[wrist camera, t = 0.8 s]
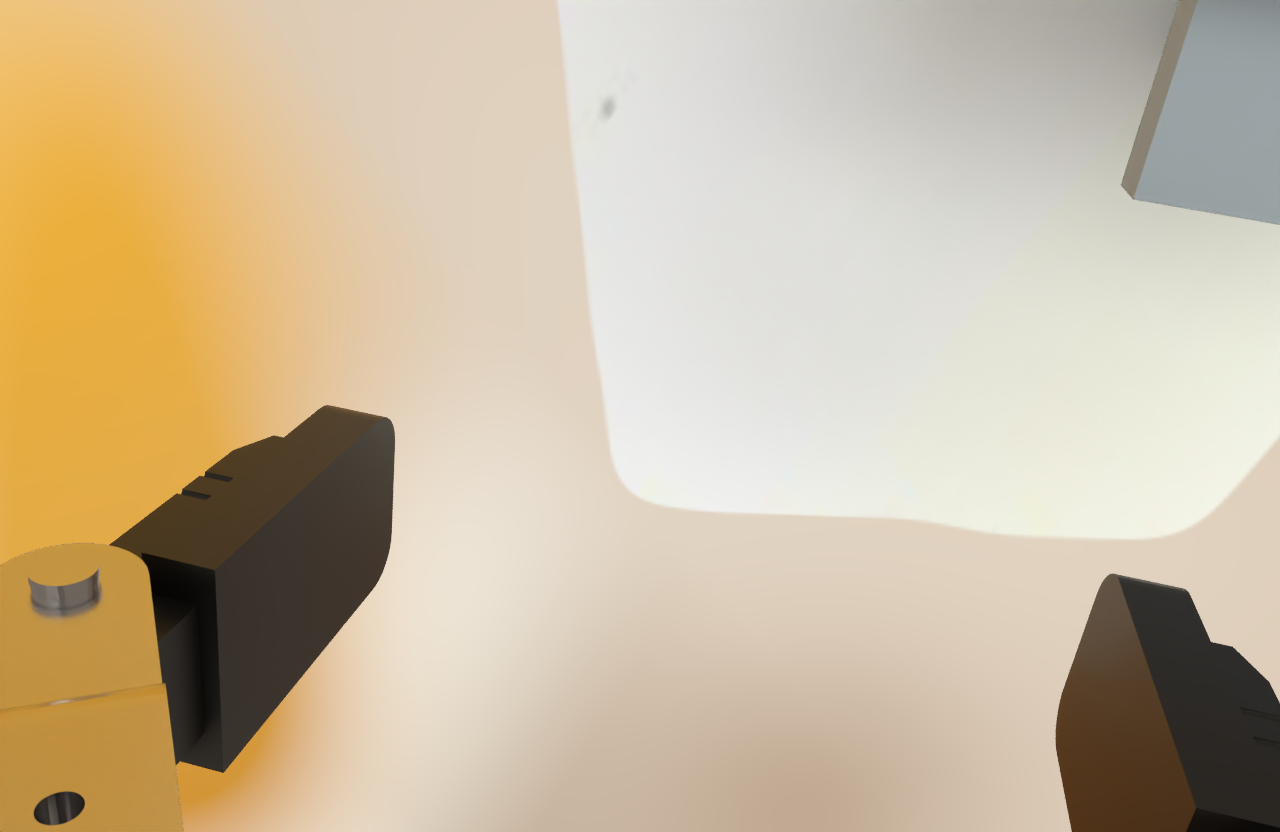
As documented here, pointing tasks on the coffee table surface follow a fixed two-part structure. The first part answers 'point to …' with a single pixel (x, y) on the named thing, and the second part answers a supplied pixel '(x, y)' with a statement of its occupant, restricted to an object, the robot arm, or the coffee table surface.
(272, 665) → the robot arm
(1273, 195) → the slate stand
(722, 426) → the coffee table surface
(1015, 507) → the coffee table surface
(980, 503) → the coffee table surface
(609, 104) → the coffee table surface
